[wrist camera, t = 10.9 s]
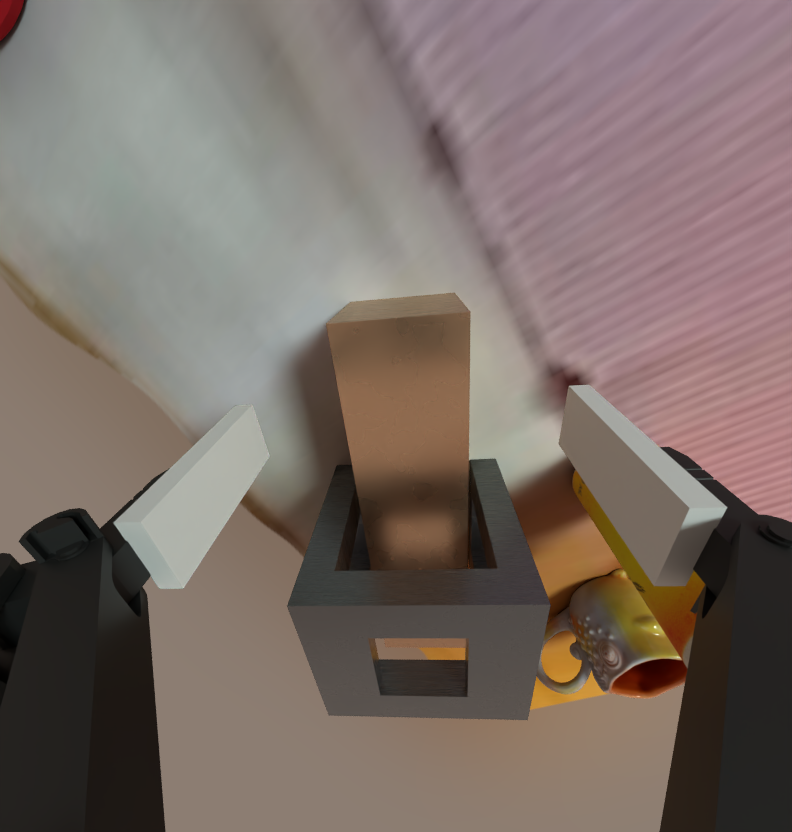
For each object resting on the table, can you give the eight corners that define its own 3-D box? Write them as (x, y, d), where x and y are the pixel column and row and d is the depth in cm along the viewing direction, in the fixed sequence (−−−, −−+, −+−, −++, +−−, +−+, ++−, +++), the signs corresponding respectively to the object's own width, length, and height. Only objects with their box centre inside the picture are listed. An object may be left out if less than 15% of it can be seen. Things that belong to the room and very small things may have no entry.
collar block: (336, 465, 25) (287, 606, 15) (495, 458, 24) (550, 604, 14) (356, 562, 29) (328, 715, 20) (489, 559, 28) (527, 719, 19)
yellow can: (567, 505, 25) (736, 795, 12) (567, 439, 23) (784, 717, 9) (653, 494, 24) (939, 794, 11) (664, 424, 22) (1057, 707, 8)
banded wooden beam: (349, 302, 19) (324, 324, 14) (455, 292, 19) (471, 311, 13) (390, 576, 30) (384, 648, 25) (458, 575, 30) (467, 649, 24)
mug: (631, 558, 28) (689, 642, 22) (658, 603, 30) (718, 690, 24) (502, 606, 31) (522, 689, 26) (535, 642, 34) (560, 726, 28)
